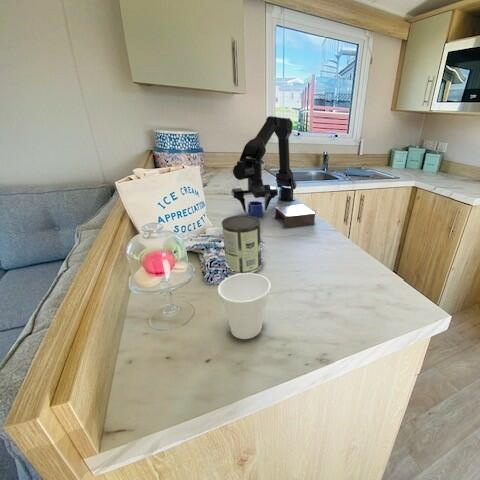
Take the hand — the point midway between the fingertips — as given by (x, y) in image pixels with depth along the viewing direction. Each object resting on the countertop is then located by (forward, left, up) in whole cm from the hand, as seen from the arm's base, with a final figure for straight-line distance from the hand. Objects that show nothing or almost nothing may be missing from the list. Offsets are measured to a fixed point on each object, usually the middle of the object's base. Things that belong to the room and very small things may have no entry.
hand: (255, 211), depth 121 cm
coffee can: (+16, +42, -2) cm, 45 cm away
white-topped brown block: (-13, +13, -1) cm, 18 cm away
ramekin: (0, 0, -1) cm, 1 cm away
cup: (+22, +68, -2) cm, 71 cm away
